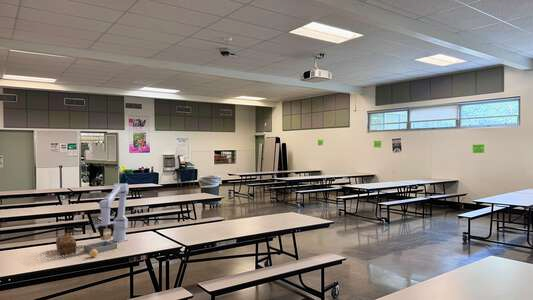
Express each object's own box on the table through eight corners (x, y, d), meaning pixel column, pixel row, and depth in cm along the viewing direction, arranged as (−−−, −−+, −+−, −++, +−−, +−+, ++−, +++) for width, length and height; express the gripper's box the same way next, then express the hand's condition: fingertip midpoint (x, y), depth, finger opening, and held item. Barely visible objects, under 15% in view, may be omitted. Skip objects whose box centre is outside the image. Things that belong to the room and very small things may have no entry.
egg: (87, 257, 226) (87, 249, 226) (95, 255, 230) (95, 247, 230) (91, 258, 223) (91, 250, 223) (99, 256, 227) (99, 249, 227)
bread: (55, 249, 245) (55, 235, 245) (73, 247, 251) (73, 233, 251) (58, 256, 230) (58, 241, 230) (77, 253, 236) (77, 238, 236)
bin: (84, 250, 242) (84, 245, 242) (106, 245, 255) (106, 240, 255) (94, 253, 233) (94, 248, 233) (116, 248, 247) (116, 243, 247)
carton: (100, 239, 245) (100, 229, 245) (107, 237, 249) (107, 228, 249) (104, 240, 242) (104, 230, 242) (111, 238, 246) (111, 228, 246)
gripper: (98, 219, 238) (98, 238, 238) (118, 215, 250) (118, 234, 250) (93, 217, 242) (93, 237, 242) (112, 214, 254) (112, 233, 254)
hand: (105, 236), depth 246 cm, fingers closed on carton, 5 cm apart
